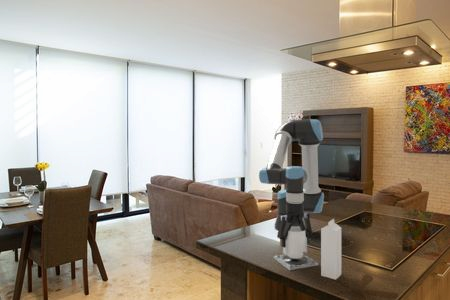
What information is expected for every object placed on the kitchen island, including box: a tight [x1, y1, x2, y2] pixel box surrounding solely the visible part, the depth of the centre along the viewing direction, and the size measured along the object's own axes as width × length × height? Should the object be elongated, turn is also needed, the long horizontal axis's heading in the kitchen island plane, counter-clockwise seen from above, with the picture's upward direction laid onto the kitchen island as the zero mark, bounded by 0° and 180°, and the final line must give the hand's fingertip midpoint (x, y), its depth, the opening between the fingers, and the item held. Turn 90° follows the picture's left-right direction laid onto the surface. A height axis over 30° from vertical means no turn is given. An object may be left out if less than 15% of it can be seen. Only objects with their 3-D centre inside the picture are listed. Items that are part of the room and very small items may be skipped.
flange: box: [273, 253, 319, 271], centre depth 142 cm, size 14×14×2 cm
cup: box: [286, 226, 306, 259], centre depth 141 cm, size 9×9×12 cm
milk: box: [320, 218, 342, 281], centre depth 127 cm, size 6×6×22 cm
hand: (295, 252), depth 142 cm, fingers closed on cup, 9 cm apart
